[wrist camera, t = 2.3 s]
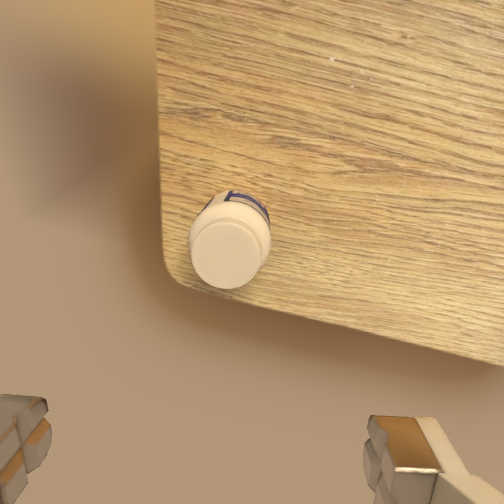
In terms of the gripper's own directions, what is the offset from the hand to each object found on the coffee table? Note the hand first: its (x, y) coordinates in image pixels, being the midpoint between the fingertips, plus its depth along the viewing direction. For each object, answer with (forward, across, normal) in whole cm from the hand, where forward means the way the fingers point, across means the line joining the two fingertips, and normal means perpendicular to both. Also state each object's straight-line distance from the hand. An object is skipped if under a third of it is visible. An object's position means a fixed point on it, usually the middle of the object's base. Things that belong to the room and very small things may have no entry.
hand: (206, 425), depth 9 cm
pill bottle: (+21, +1, 0) cm, 21 cm away
